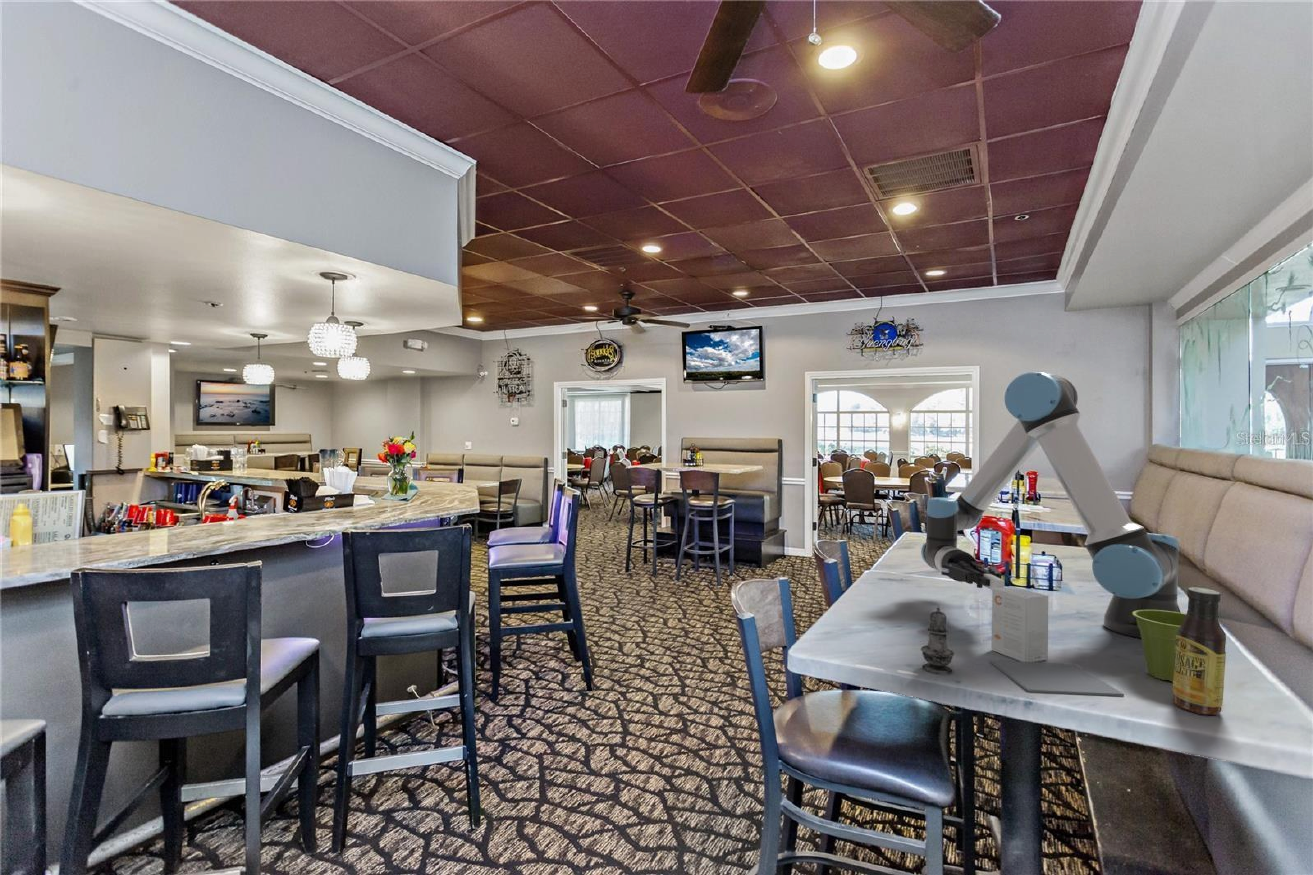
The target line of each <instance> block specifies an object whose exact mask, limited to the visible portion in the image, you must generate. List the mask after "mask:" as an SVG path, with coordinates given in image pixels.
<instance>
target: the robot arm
mask: <svg viewBox="0 0 1313 875" xmlns="http://www.w3.org/2000/svg"><path fill="white" fill-rule="evenodd" d="M1076 389H1077V388H1076V387H1075V386H1074V385H1073V383H1072V381H1070V380H1068V379H1067V378H1065V377H1062V376H1059V375H1056V374H1051V373H1049V372H1046V371H1038V370H1037V371H1030V372H1025V373H1023V374H1020V375H1018V376H1017V377H1015V378H1014V379H1013V380H1012V381H1011V382H1010V383H1009V384H1008V386H1007V388H1006V389H1005V393H1004V404H1005V407H1006V410H1007V411H1008V412H1009V414H1011V416H1012V417H1014V418H1015V419H1017V422H1016V423H1015V424H1014V425H1013V426H1012V428H1011V429H1010V430H1009V432H1008V433H1007V434H1006V436H1005V437H1004V438H1003V439H1002V441H1001V442H1000V443H999V444H998V445H997V447H996V448H994V451H993V452H992V454H990V456H988V459H987V460H986V461H985V462H984V463H983V465H982V466H981V467H980V468H979V469H978V471H977V472H976V474H975V475H974V476H973V478H972V479H971V480H970V481H969V482H968V484H967V485H966V486H965V487H964V489H963V490H962V492H961V493H960V494H959V495H958V496H957V498H956V499H955V498H952V497H930V498H929V499H927V504H926V507H927V508H926V511H925V512H926V540H925V543H923V545H922V547H921V550H920V556H921V558H922V560H923V561H924V562H925V563H926V564H927V565H928V566H929V567H930V568H932V569H935V570H936V571H939V572H940V573H941V575H942V576H946V577H948V578H949V579H952V580H953V581H955V582H959V583H967V584H968V585H972V584H976V588H978V589H982V588H984V587H986V588H987V589H989V590H990V591H992V589H993V588H1005V585H1006V584H1005V580H1004V579H1002V576H1003V575H1002V573H1001V572H1000V571H999V570H998V569H997V565H996V566H995V565H990V566H989V565H988V566H987V567H985V566H984V565H982V564H979V563H978V562H977V560H976V559H975V557H974V555H972V554H971V553H969V552H967V551H964V550H963V549H960V548H958V531H964V530H971V529H973V528H975V527H976V526H978V525H980V523H981V521H982V519H983V514H984V512H985V511H986V510H987V509H988V507H989V506H990V505H991V504H992V503H993V502H994V500H995V499H996V498H997V497H998V496H999V494H1000V493H1001V492H1002V491H1003V489H1004V488H1005V487H1006V486H1007V485H1008V484H1009V482H1011V480H1012V478H1014V476H1015V475H1016V474H1017V473H1018V471H1019V470H1020V469H1021V468H1022V466H1024V464H1025V463H1026V462H1027V460H1028V459H1029V458H1030V457H1031V456H1032V455H1033V453H1035V451H1036V449H1037V448H1038V447H1039V446H1041V448H1042V451H1043V452H1044V454H1045V457H1046V458H1047V460H1048V462H1049V463H1050V465H1051V467H1052V470H1053V471H1054V473H1055V475H1056V477H1057V479H1058V480H1059V482H1060V484H1061V486H1062V489H1063V491H1064V492H1065V494H1066V496H1067V498H1068V499H1069V502H1070V503H1071V505H1072V507H1073V509H1074V511H1075V513H1076V515H1077V517H1078V518H1079V521H1080V522H1081V524H1082V526H1083V528H1084V530H1085V532H1086V534H1087V537H1086V540H1085V542H1084V546H1085V548H1086V550H1087V552H1088V554H1089V555H1090V557H1091V560H1092V564H1091V566H1092V567H1091V568H1092V574H1093V576H1094V578H1095V580H1096V581H1097V583H1098V584H1099V586H1100V587H1102V588H1103V589H1104V590H1105V591H1107V592H1109V593H1110V594H1112V597H1111V599H1110V601H1109V603H1108V606H1107V607H1106V608H1107V609H1106V611H1105V613H1104V616H1103V626H1104V627H1105V628H1107V629H1109V630H1111V631H1113V632H1115V633H1119V634H1122V635H1125V636H1129V637H1133V636H1134V638H1139V639H1142V638H1141V633H1140V629H1139V628H1138V624H1137V620H1136V617H1135V616H1134V615H1133V614H1132V613H1133V611H1137V610H1163V611H1172V612H1178V613H1182V612H1181V609H1180V607H1179V606H1180V605H1179V604H1178V587H1179V586H1178V583H1179V581H1178V580H1179V577H1178V576H1179V553H1180V548H1179V541H1178V538H1176V536H1173V535H1167V534H1160V533H1159V534H1158V533H1152V532H1151V533H1149V532H1147V530H1146V528H1145V527H1144V525H1143V526H1142V525H1140V524H1138V523H1135V522H1133V521H1132V519H1131V518H1130V517H1129V515H1128V513H1127V511H1126V510H1125V507H1124V506H1123V504H1122V502H1121V500H1120V499H1119V497H1118V495H1117V494H1116V492H1115V490H1114V488H1113V486H1112V484H1111V482H1110V480H1109V479H1108V477H1107V475H1106V474H1105V472H1104V470H1103V469H1102V466H1101V465H1100V463H1099V461H1098V459H1097V457H1096V455H1095V454H1094V452H1093V451H1092V448H1091V446H1090V445H1089V443H1088V441H1087V440H1086V438H1085V436H1084V433H1082V431H1081V428H1080V427H1079V425H1078V423H1079V420H1080V418H1081V414H1080V411H1079V410H1078V408H1077V405H1078V399H1079V398H1078V396H1079V395H1078V391H1077V390H1076ZM983 586H984V587H983Z"/></svg>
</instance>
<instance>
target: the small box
mask: <svg viewBox="0 0 1313 875" xmlns="http://www.w3.org/2000/svg"><path fill="white" fill-rule="evenodd" d="M991 591H992V594H991V595H992V596H991V598H992V599H991V645H990V646H991V651H994V652H995V653H999V654H1001V655H1003V656H1006V657H1009V658H1011V659H1014V660H1017V661H1018V662H1042V661H1047V660H1048V659H1049V657H1048V656H1049V653H1048V652H1049V595H1048V594H1047V595H1046V594H1042V593H1038V592H1034V591H1032V590H1027V589H1024V588H1020V587H1016V586H1007V587H1005V586H1004V588H993V589H992V590H991Z"/></svg>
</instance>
